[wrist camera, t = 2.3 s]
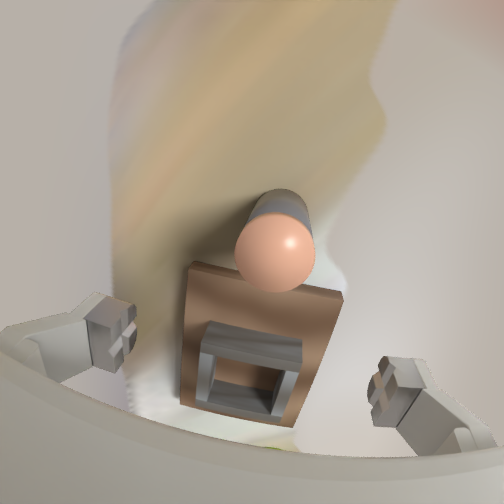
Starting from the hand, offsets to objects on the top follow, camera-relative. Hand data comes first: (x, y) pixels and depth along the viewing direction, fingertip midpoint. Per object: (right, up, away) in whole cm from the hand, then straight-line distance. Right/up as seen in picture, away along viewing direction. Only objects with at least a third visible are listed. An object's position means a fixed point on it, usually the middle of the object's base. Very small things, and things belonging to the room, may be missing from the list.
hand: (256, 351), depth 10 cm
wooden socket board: (0, -6, +18) cm, 19 cm away
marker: (+2, +6, +14) cm, 15 cm away
